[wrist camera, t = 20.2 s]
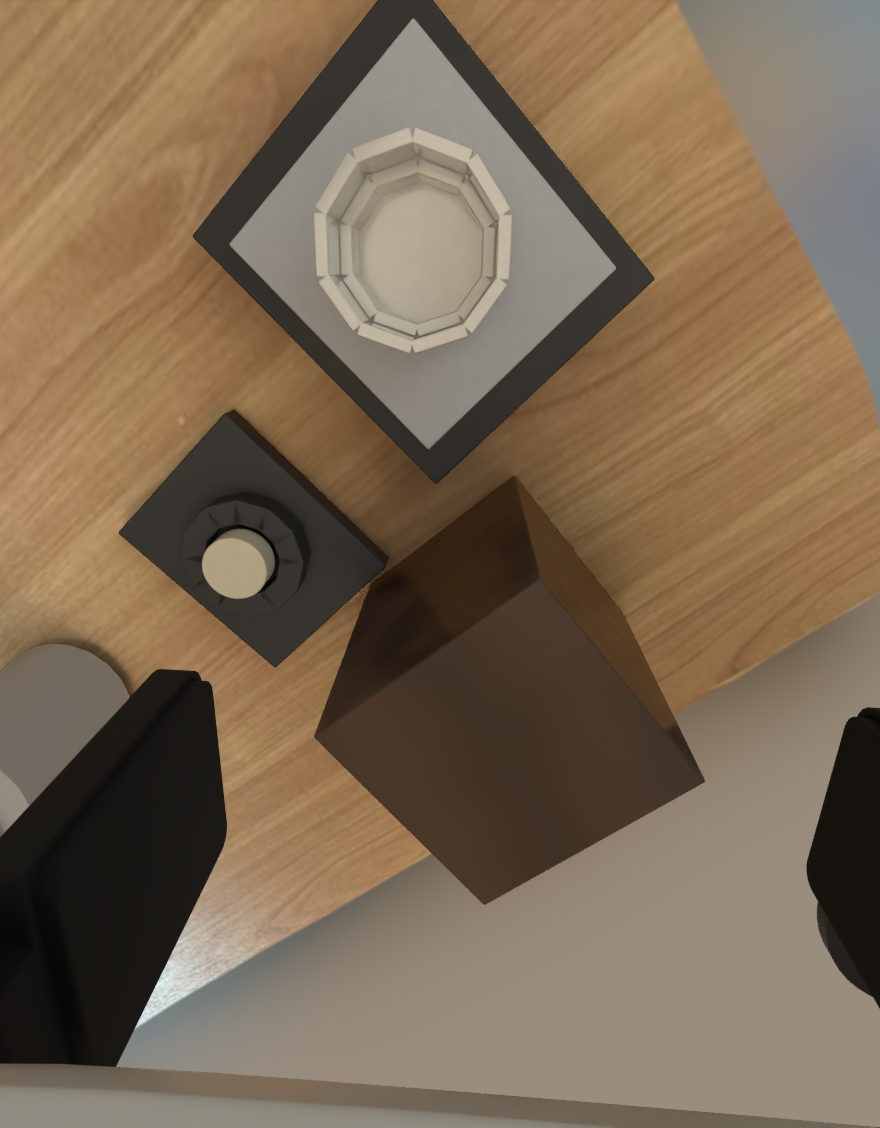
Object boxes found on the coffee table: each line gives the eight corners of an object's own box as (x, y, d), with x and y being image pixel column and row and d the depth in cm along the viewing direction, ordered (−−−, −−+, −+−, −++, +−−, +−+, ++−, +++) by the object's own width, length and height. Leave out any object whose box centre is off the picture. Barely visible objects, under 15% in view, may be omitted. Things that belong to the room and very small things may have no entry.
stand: (514, 474, 34) (540, 577, 21) (623, 613, 37) (706, 782, 24) (369, 585, 37) (312, 737, 24) (480, 707, 39) (484, 906, 26)
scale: (640, 280, 31) (659, 278, 28) (438, 471, 34) (435, 487, 31) (411, -4, 27) (403, -43, 24) (214, 241, 31) (185, 234, 28)
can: (0, 708, 41) (-178, 859, 30) (36, 614, 38) (-142, 740, 27) (113, 762, 42) (-17, 927, 31) (156, 674, 40) (32, 818, 28)
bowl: (510, 155, 26) (517, 127, 22) (501, 348, 29) (505, 355, 25) (334, 154, 27) (308, 125, 22) (341, 345, 29) (319, 352, 25)
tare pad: (389, 557, 36) (382, 578, 33) (281, 656, 39) (266, 683, 36) (234, 408, 34) (212, 418, 31) (130, 525, 36) (101, 543, 33)
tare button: (288, 559, 34) (280, 570, 32) (248, 598, 35) (238, 611, 33) (239, 515, 33) (229, 524, 32) (200, 556, 34) (188, 567, 32)
